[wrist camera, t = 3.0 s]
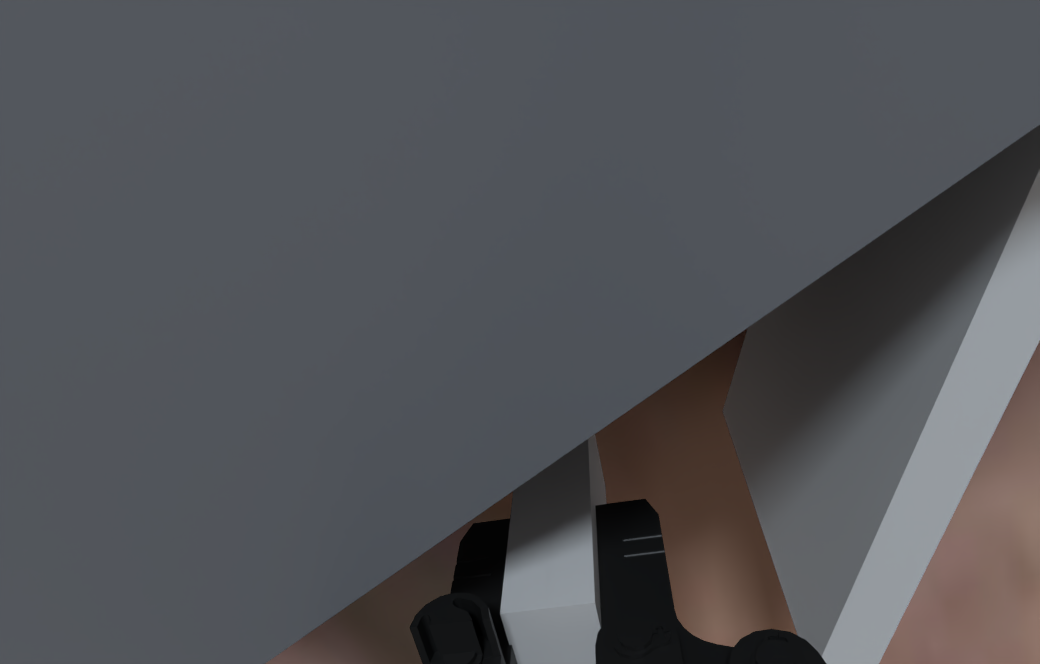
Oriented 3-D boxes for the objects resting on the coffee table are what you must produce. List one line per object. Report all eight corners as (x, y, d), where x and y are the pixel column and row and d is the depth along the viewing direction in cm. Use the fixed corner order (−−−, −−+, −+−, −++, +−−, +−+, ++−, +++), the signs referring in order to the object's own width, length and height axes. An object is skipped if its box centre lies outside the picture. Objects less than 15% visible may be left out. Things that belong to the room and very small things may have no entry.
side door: (855, -29, 16) (1126, -27, 8) (927, -18, 16) (1268, -5, 8) (722, 411, 22) (811, 678, 13) (777, 419, 22) (900, 691, 13)
